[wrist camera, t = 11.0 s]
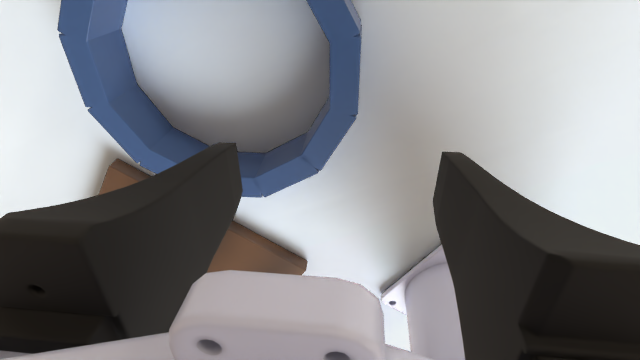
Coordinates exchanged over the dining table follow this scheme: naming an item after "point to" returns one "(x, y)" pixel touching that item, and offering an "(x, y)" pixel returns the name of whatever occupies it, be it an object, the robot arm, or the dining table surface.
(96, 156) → the dining table surface
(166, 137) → the blue ring
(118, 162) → the platform
